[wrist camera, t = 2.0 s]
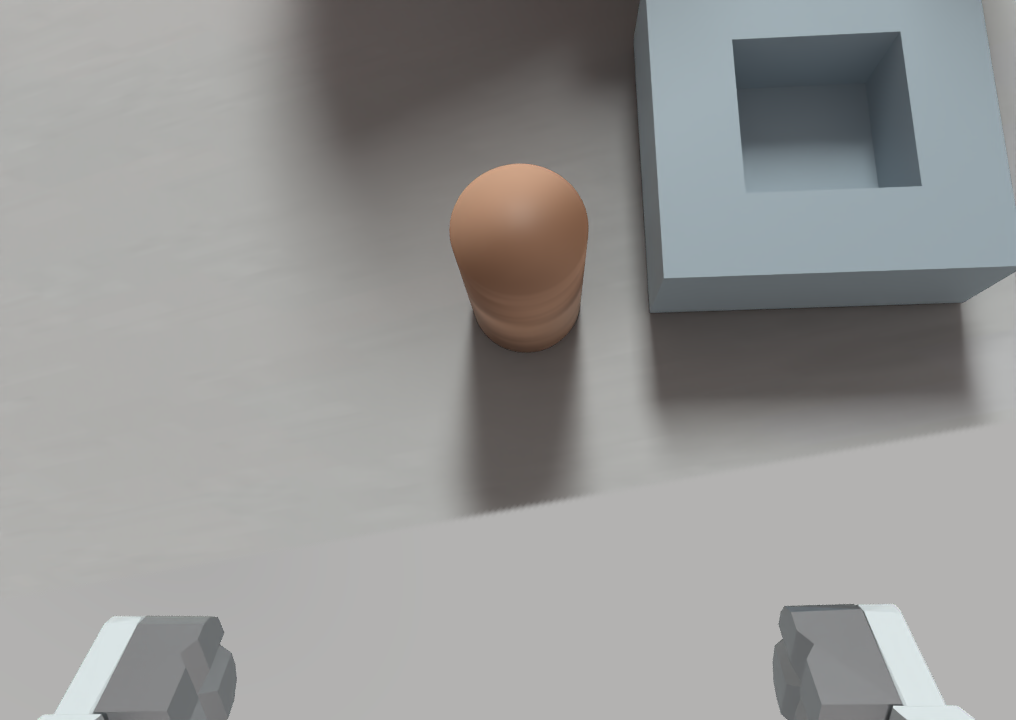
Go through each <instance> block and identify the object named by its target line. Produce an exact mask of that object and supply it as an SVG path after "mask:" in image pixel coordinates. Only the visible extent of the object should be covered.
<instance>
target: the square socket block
mask: <svg viewBox="0 0 1016 720" xmlns="http://www.w3.org/2000/svg"><path fill="white" fill-rule="evenodd" d="M634 56H635V73H636V90H637V107H638V124H639V140H640V157H641V174H642V191H643V208H644V225H645V242H646V259H647V276H648V293H649V310H650V313H658V312H688V311H719V310H749V309H780V308H810V307H841V306H871V305H902V304H932V303H963V302H965V301H967V300H968V299H970V298H972V297H973V296H975V295H977V294H978V293H980V292H982V291H984V290H985V289H987V288H989V287H990V286H992V285H994V284H995V283H997V282H999V281H1000V280H1002V279H1004V278H1005V277H1007V276H1009V275H1010V274H1012V273H1014V272H1016V207H1015V201H1014V195H1013V189H1012V183H1011V177H1010V171H1009V165H1008V159H1007V153H1006V147H1005V140H1004V134H1003V128H1002V122H1001V116H1000V110H999V104H998V98H997V92H996V86H995V80H994V74H993V68H992V62H991V56H990V50H989V44H988V37H987V31H986V25H985V19H984V13H983V7H982V1H981V0H640V3H639V9H638V16H637V22H636V28H635V35H634Z"/></svg>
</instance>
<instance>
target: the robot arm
mask: <svg viewBox="0 0 1016 720" xmlns="http://www.w3.org/2000/svg"><path fill="white" fill-rule="evenodd" d="M779 627H780V631H781V634H782V637H783V639H782V640H781V641H780V642H778V643H777V644H776V645H775V648H774V656H773V680H774V686H775V692H776V697H777V701H778V705H779V708H780V712H781V714H782V715H783V716H784V717H785V718H786V719H787V720H976V719H974V718H973V717H972V716H971V715H969V714H968V713H967V712H965V711H964V710H963V709H962V708H960V707H959V706H952V705H946V703H945V701H944V699H943V697H942V695H941V693H940V691H939V688H938V686H937V685H936V682H935V680H934V678H933V676H932V674H931V672H930V670H929V668H928V666H927V664H926V662H925V660H924V658H923V655H922V653H921V651H920V649H919V647H918V645H917V643H916V641H915V639H914V637H913V635H912V633H911V631H910V629H909V627H908V625H907V623H906V621H905V618H904V616H903V614H902V612H901V610H900V609H899V608H898V607H897V606H895V604H862V605H854V604H839V605H804V606H784V608H783V610H782V611H781V614H780V620H779ZM223 635H224V631H223V628H222V626H221V623H220V621H219V619H218V617H210V616H205V617H204V616H113V617H112V618H111V619H110V620H108V621H107V622H106V623H105V624H104V625H103V627H102V628H101V630H100V632H99V634H98V635H97V637H96V639H95V641H94V643H93V644H92V646H91V648H90V650H89V652H88V653H87V655H86V657H85V659H84V661H83V663H82V664H81V666H80V668H79V670H78V671H77V673H76V675H75V677H74V678H73V680H72V682H71V684H70V686H69V688H68V689H67V691H66V693H65V695H64V696H63V698H62V700H61V702H60V704H59V705H58V707H57V709H56V711H55V713H54V714H45V715H43V716H41V717H40V718H38V719H37V720H227V719H228V717H229V714H230V711H231V708H232V705H233V702H234V697H235V689H236V681H237V677H236V667H235V663H234V659H233V656H232V653H231V652H230V651H228V650H227V649H225V648H224V647H223V646H221V645H220V642H221V640H222V637H223Z"/></svg>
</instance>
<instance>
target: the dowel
mask: <svg viewBox="0 0 1016 720" xmlns="http://www.w3.org/2000/svg"><path fill="white" fill-rule="evenodd" d="M587 240H588V217H587V213H586V209H585V206H584V204H583V202H582V200H581V198H580V196H579V194H578V193H577V192H576V190H575V189H574V188H573V186H572V185H571V184H570V183H569V182H567V181H566V180H565V179H564V178H563V177H561V176H560V175H558V174H556V173H555V172H553V171H551V170H549V169H546V168H544V167H540V166H536V165H531V164H509V165H504V166H500V167H497V168H494V169H491V170H489V171H487V172H485V173H483V174H482V175H480V176H479V177H477V178H476V179H475V180H474V181H472V182H471V183H470V184H469V185H468V186H467V187H466V188H465V190H464V191H463V192H462V194H461V195H460V196H459V198H458V200H457V202H456V204H455V206H454V209H453V212H452V215H451V220H450V241H451V245H452V249H453V252H454V255H455V258H456V261H457V264H458V267H459V270H460V273H461V276H462V279H463V282H464V284H465V287H466V290H467V293H468V296H469V299H470V302H471V305H472V308H473V311H474V314H475V317H476V320H477V322H478V324H479V326H480V328H481V329H482V331H483V332H484V333H485V334H486V335H487V337H488V338H489V339H491V340H492V341H493V342H494V343H496V344H498V345H499V346H501V347H503V348H506V349H508V350H512V351H516V352H536V351H541V350H544V349H547V348H549V347H551V346H553V345H555V344H556V343H558V342H559V341H561V340H562V339H563V338H564V337H565V336H566V335H567V334H568V333H569V331H570V330H571V329H572V327H573V325H574V324H575V322H576V319H577V317H578V313H579V309H580V302H581V293H582V284H583V275H584V266H585V258H586V249H587Z"/></svg>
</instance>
